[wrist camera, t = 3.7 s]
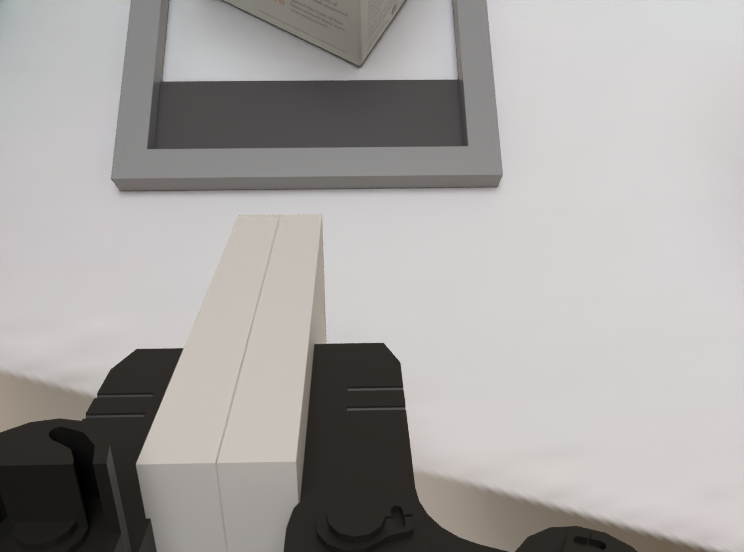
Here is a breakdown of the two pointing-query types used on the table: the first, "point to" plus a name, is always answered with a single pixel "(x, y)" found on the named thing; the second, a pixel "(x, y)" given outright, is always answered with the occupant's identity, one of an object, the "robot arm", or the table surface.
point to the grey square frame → (305, 123)
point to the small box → (329, 22)
